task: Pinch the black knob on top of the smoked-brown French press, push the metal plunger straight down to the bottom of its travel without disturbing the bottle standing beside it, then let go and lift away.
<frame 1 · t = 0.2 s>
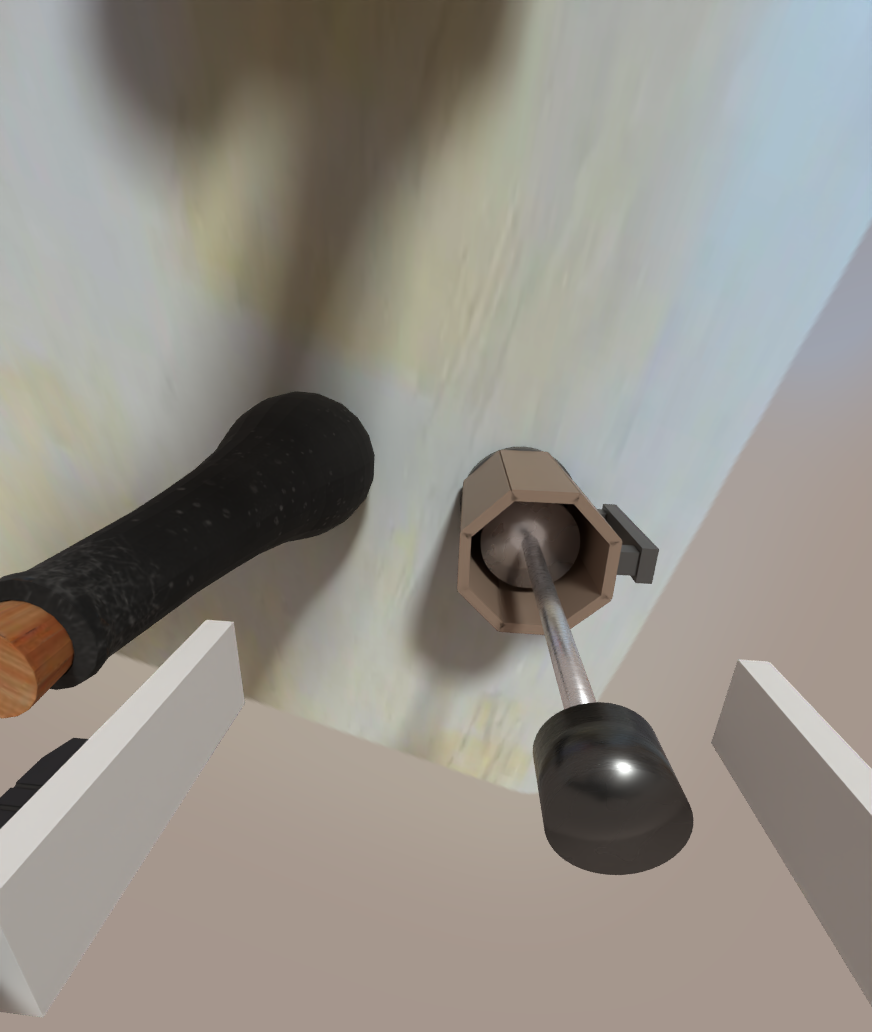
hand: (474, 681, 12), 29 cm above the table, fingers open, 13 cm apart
bottle: (327, 449, 40), on the table
plunger: (553, 619, 22), point 19 cm above the table, slide at 0.0 cm
press: (517, 502, 40), on the table
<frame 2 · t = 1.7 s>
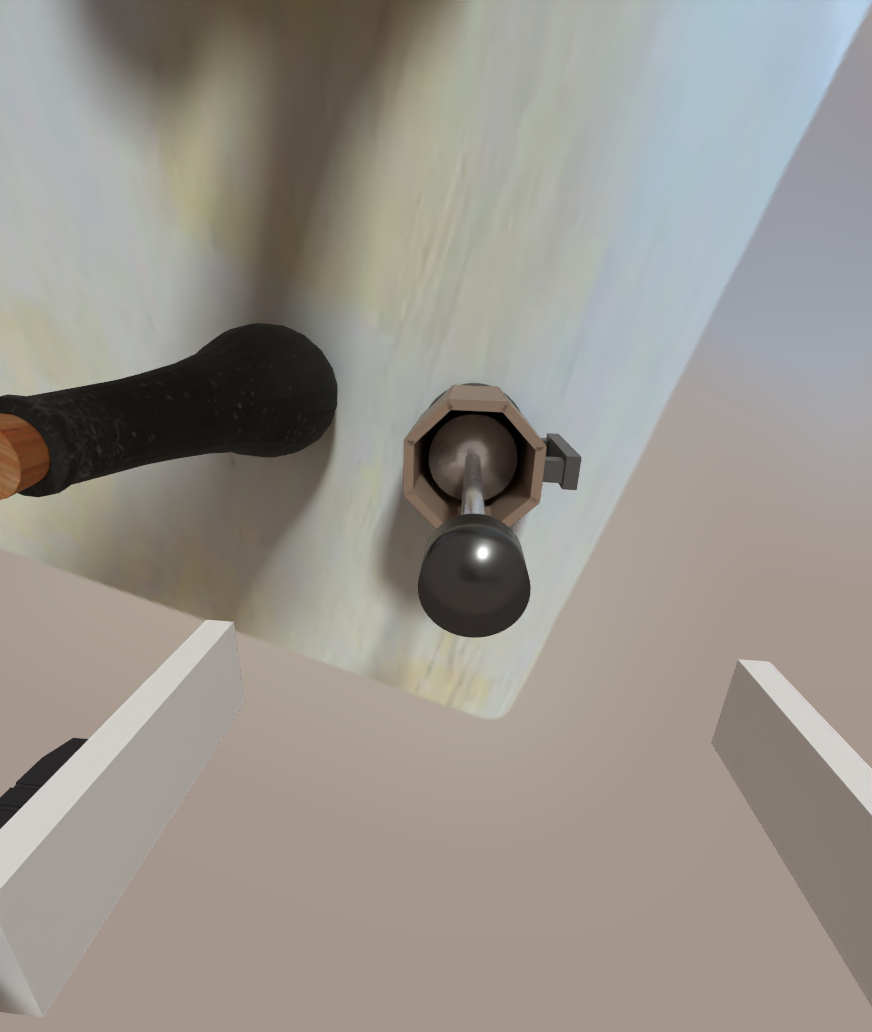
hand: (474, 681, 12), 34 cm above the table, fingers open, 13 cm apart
bottle: (297, 386, 44), on the table
plunger: (472, 498, 26), point 19 cm above the table, slide at 0.0 cm
press: (472, 437, 44), on the table
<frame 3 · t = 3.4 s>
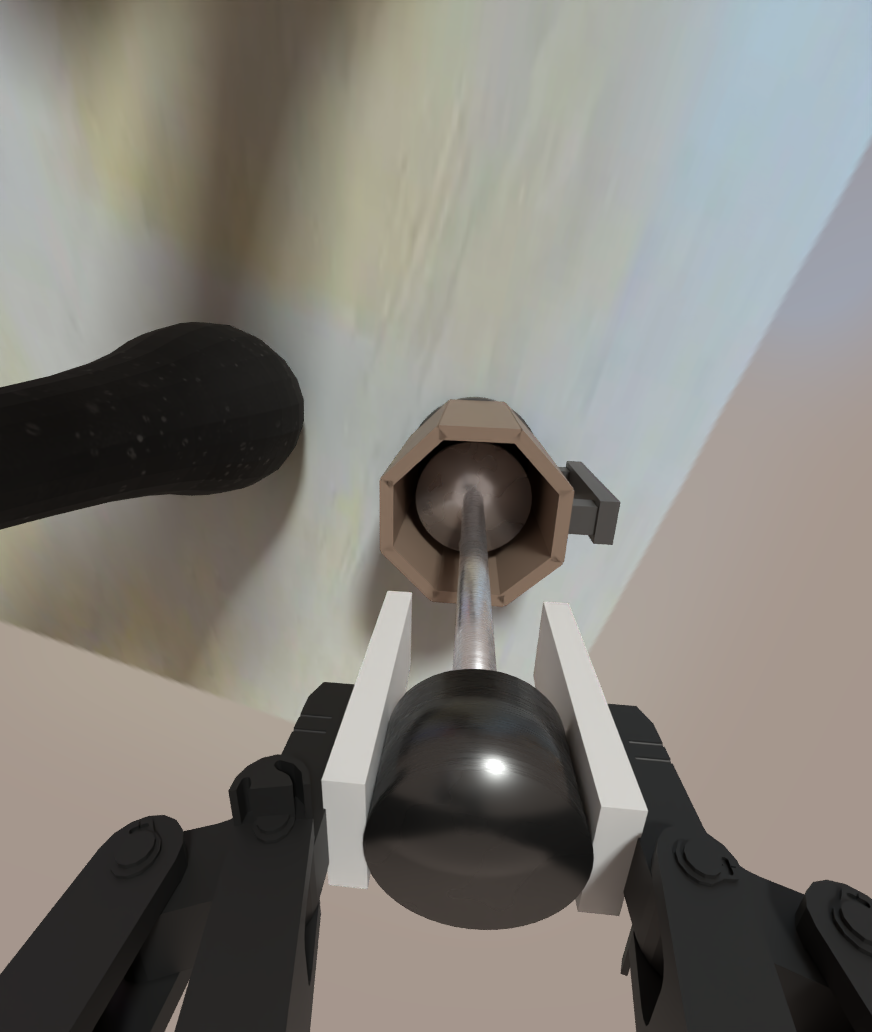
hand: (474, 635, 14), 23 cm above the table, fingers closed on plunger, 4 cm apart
bottle: (256, 400, 35), on the table
plunger: (473, 577, 18), point 19 cm above the table, slide at 0.0 cm, touching gripper
press: (472, 462, 36), on the table
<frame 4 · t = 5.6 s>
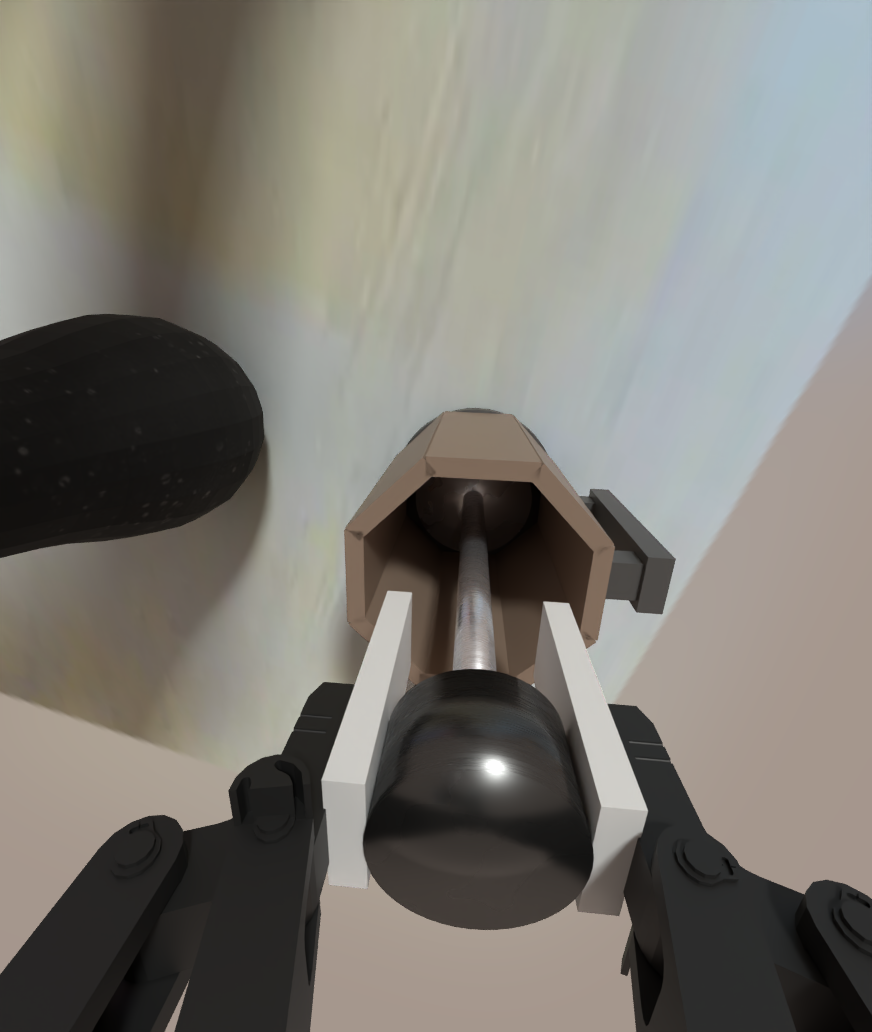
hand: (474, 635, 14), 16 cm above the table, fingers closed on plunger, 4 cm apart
bottle: (209, 411, 29), on the table
plunger: (473, 577, 18), point 12 cm above the table, slide at 6.8 cm, touching gripper
press: (473, 487, 29), on the table
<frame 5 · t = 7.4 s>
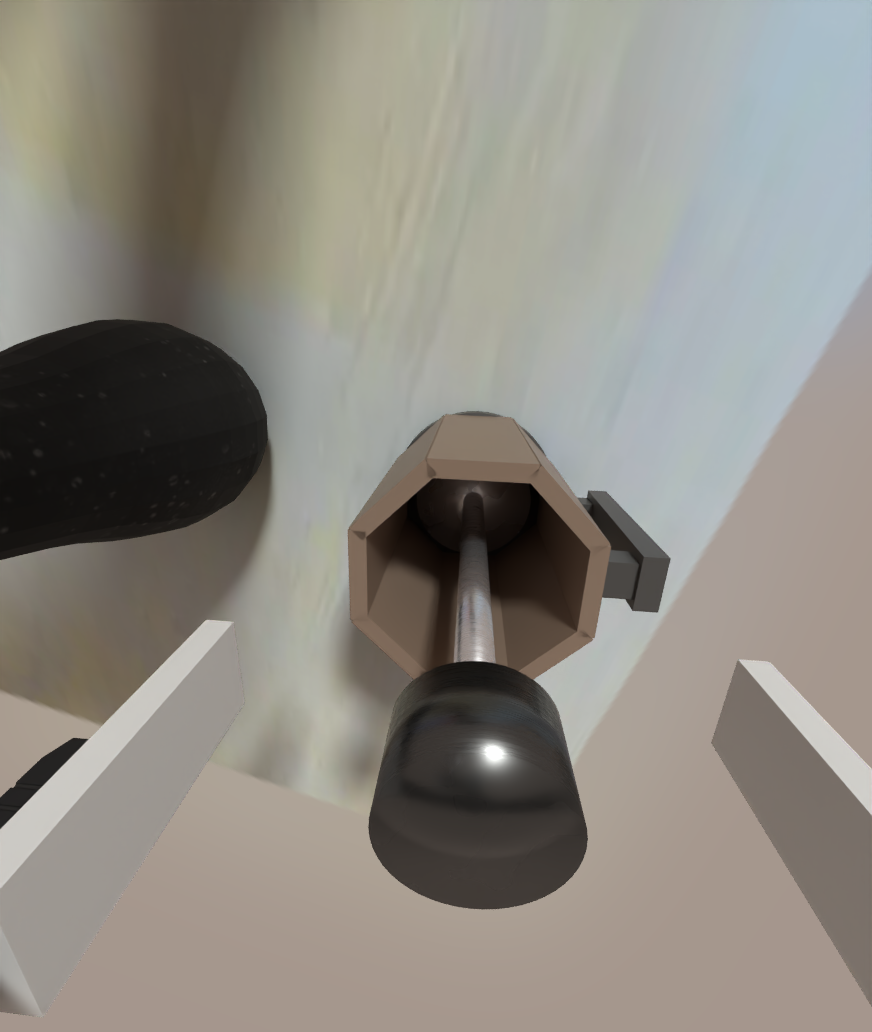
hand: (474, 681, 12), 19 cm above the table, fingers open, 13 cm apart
bottle: (213, 414, 29), on the table
plunger: (473, 576, 18), point 12 cm above the table, slide at 6.8 cm
press: (473, 489, 30), on the table
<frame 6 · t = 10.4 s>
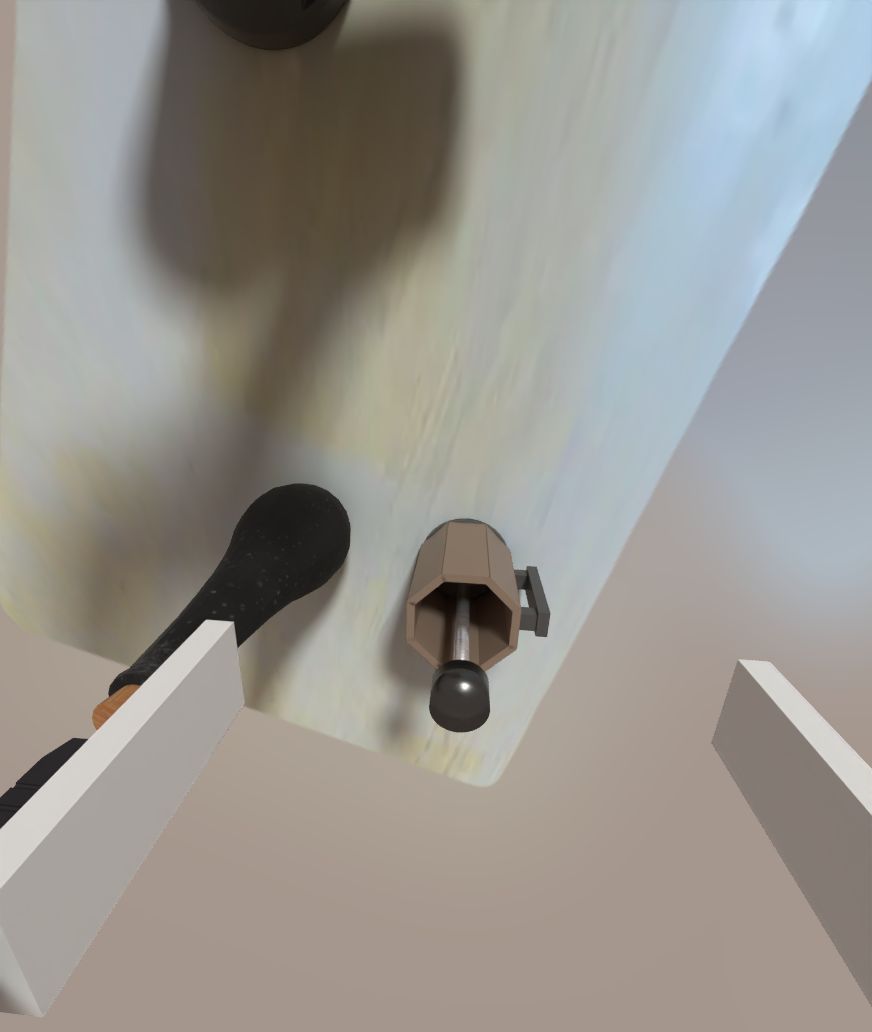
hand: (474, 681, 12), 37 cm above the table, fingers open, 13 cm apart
bottle: (315, 517, 51), on the table
plunger: (462, 620, 40), point 12 cm above the table, slide at 6.8 cm
press: (464, 560, 51), on the table
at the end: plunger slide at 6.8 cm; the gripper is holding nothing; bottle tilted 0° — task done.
